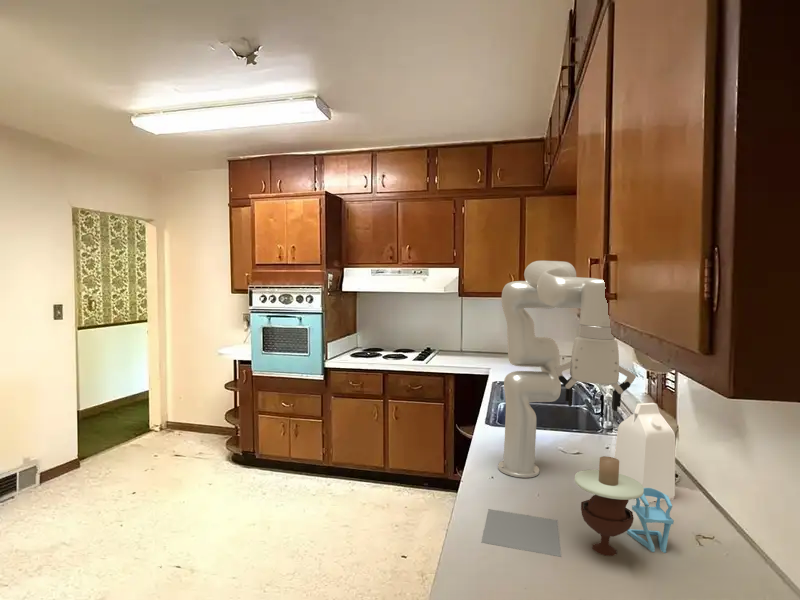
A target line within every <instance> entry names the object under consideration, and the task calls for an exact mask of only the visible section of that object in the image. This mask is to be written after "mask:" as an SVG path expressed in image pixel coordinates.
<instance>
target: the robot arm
mask: <svg viewBox="0 0 800 600" xmlns="http://www.w3.org/2000/svg"><path fill="white" fill-rule="evenodd" d="M523 276H524V280H518V281H517V280H516V281H510V282H508V283H506V284H505V285H504V287H503V289H502V291H501V306H502V310H503V314H504V317H505V321H506V326H507V327H506V328H507V329H506V333H507V335H506V337H507V356H508V357H507V358H508V361H509V363H510V364H511V365H512V366H515V367H520V368H521V367H523V368H525V367H527V368H528V367H529V368H540V369H541V371H539V370H538V371H536V370H535V371H534V370H514V371H511V372H509V373H508V374H506V375H505V377H504V381H503V390H504V398H505V420H504V421H505V422H504V423H505V424H504V443H503V444H504V445H503V460H502V461H500V462H499V463H498V470H499V471H500V472H502V473H503V474H505V475H507V476H511V477H514V478H522V479H526V478H528V479H529V478H534V477H538V475H539V474H540V468H539V467H538V466H537V465H536V464H535V462H536V461H535V459H536V457H535V455H536V442H537V441H536V439H537V437H536V436H537V415H536V412H535V410H534V409H533V408H532V407H531V405H530V403H537V402H538V403H550V402H551V403H552V402H556V401H557V400H558V399H559V398H560V395H561V392H562V391H561V389H562V385H563V386H564V387H565V394H564V395H565V397H564V401H565V402H567V406H568V407H571V406H572V407H573V399H574V397H573V394H574V390H573V386H574V385H575V384H576V383H577V382H579V383H588V384H596V385H597V384H598V385H611V386H612V387H613V389H614V390H613V391H612V396H611V397H612V398H611V409H612V410H613V412H618V407H619V408H620V407H621V402H622V399H621V398H622V395H623V393H624V392H625V391H626V390H627V389H629V388H630V387H631V385H632V384H633V382H634V381H635V379H636V378H637V377H636V375H635V374H634V373H633V372H631V371H630V370H627V369H626V368H624V367H622V366H621V365H620V354H619V353H620V352H619V345H618V343H619V342H618V340H617V339H616V337H613V335H612V334H611V328H610V319H609V315H608V303H607V300H606V298H605V289H606V287H605V282H604V280H603V279H602V278H597V277H596V278H595V277H580V276H579V277H578V276H577V271H576V268H575V267H574V266H573V264H572V263H570V262H569V261H560V260H535V261H532V262H531V263H529V264H528V265H527V266H526V268H525V269H524V273H523ZM554 308H557V309H558V308H560V309H580V315H579V316H580V317H579V327H578V328H579V331H578V336H577V337H576V336H575V337H574V341H573V345H572V351H571V358H570V361H568V362H565V363H563V364H561V360H560V359H561V358H560V356H561V355H560V349H559V347H558V343H556V341H555V340H554V339H553V338H550V337H547V336H546V337H545V336H544V337H542V336H541V337H540V336H538V337H537V336H536V333H535V322H534V320H533V317H532V316H531V314H529V312H528V311H527V310H526V309H543V310H544V309H545V310H547V309H548V310H549V309H551V310H552V309H554ZM566 370H569V374H570V377H569V378H568V379H567V378H566V377H565V376H564V374H563V372H564V371H566ZM620 374H622V375H624V376H625V377H626V378H625V380H624V381H623V382H621V383H620V384H619V383H618V382H619V379H620V378H619V377H620Z"/></svg>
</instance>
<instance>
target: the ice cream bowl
mask: <svg viewBox="0 0 800 600" xmlns="http://www.w3.org/2000/svg"><path fill="white" fill-rule="evenodd" d="M629 501H630V500H620V499H611V498H606V497H602V496H598V495H595V494H593V495H592V496H591V497H590V498H589V499H586V500H583V501H581V503H580V510H581V516H582V519H583V521H584V522H585V523H586V524H587V525H588V527H590V529H592V530H594V532H596V533H597V534H599V535H600V542H596V543H594V544H592V547H591V548H592V550H593V551H594V552H596V554H597V553H598V554H599V555H602V556H608V557H613V556H616V555H617V554H618V551H617V549H616V548H614V547H613V546H612V545H610V538H611V537H617V536H619V535H622V534H624V533H625V532H626V533H627V530H629V529H631V527H632V526H633V523H634V519H635V517H634V514H633V513H634V511H632V510H630V509H629V508H627V505H628V503H629Z"/></svg>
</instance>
